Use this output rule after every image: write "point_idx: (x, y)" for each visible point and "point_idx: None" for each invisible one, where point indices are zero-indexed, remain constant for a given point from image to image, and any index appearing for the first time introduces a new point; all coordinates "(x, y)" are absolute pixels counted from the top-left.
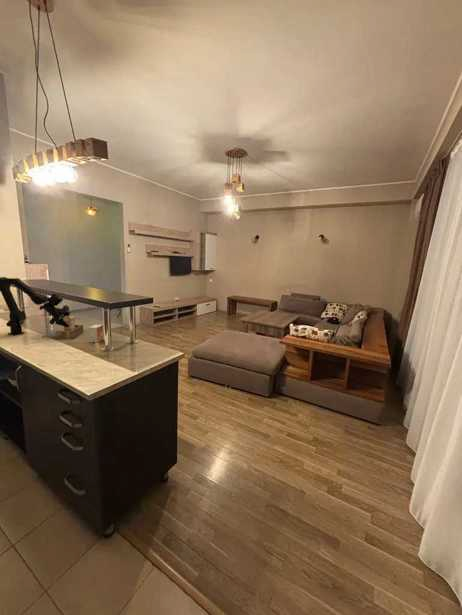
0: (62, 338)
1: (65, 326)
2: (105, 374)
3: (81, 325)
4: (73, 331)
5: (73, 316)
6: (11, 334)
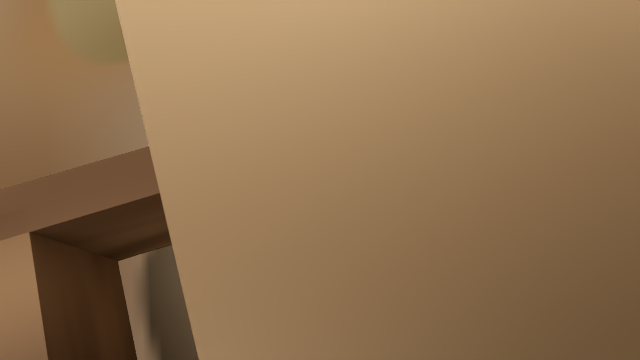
0: None
1: None
2: None
3: (33, 200)
4: None
5: (185, 70)
6: None
